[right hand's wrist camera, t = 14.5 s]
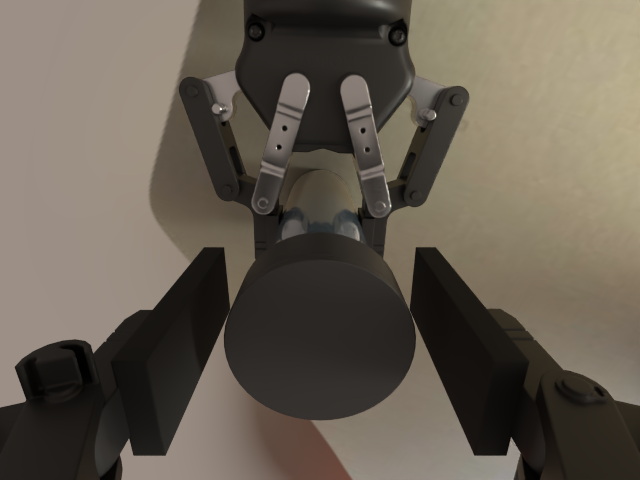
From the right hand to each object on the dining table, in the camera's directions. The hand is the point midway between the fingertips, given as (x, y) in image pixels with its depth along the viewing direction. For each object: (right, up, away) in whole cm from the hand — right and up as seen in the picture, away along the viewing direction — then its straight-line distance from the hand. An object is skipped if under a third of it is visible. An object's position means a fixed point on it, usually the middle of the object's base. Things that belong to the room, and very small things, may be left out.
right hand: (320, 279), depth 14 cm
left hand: (0, 0, +7) cm, 7 cm away
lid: (0, -1, -4) cm, 4 cm away
